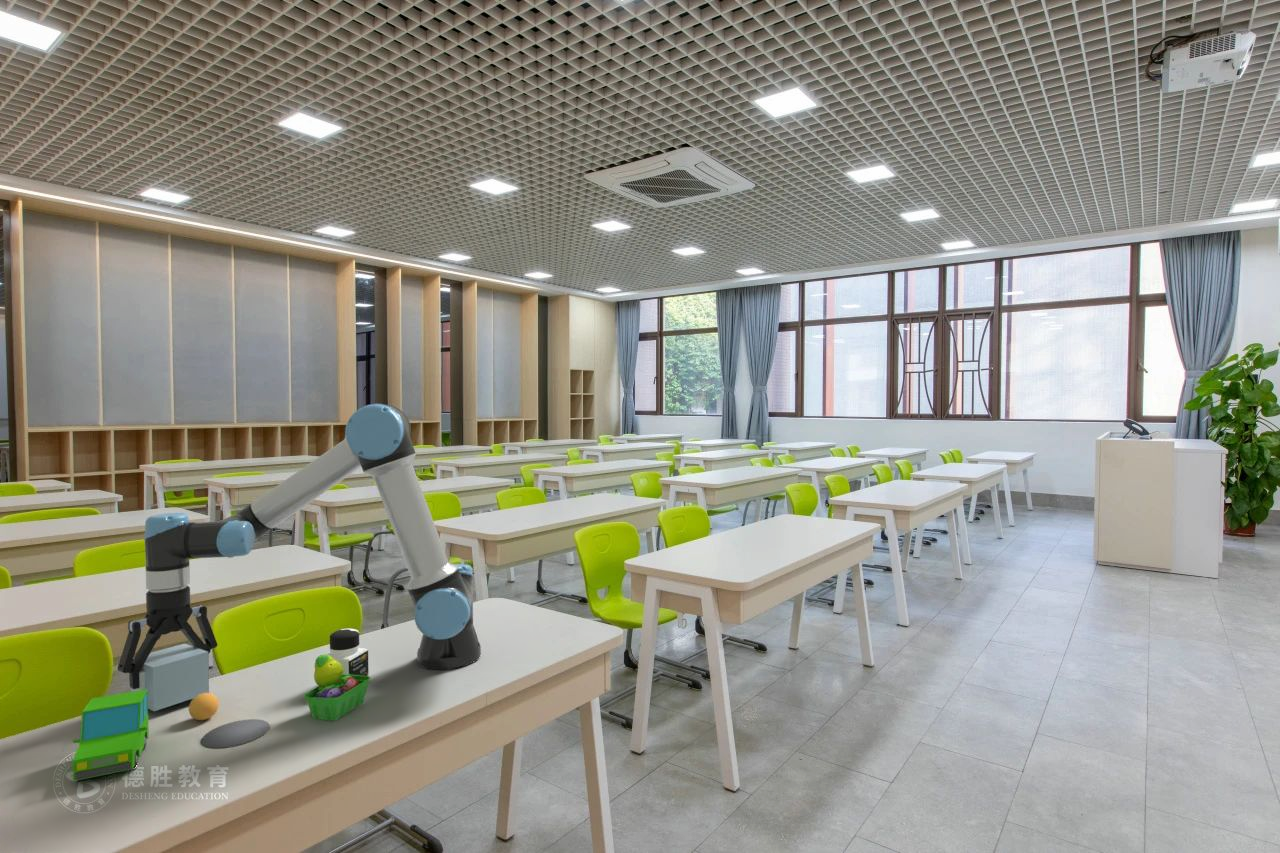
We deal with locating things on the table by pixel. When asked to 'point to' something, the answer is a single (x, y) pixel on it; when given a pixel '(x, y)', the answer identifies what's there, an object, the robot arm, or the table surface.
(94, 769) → the toy car
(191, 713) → the ball
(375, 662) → the table surface
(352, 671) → the medicine bottle
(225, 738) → the disc
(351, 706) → the fruit basket
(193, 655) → the pale blue cube
